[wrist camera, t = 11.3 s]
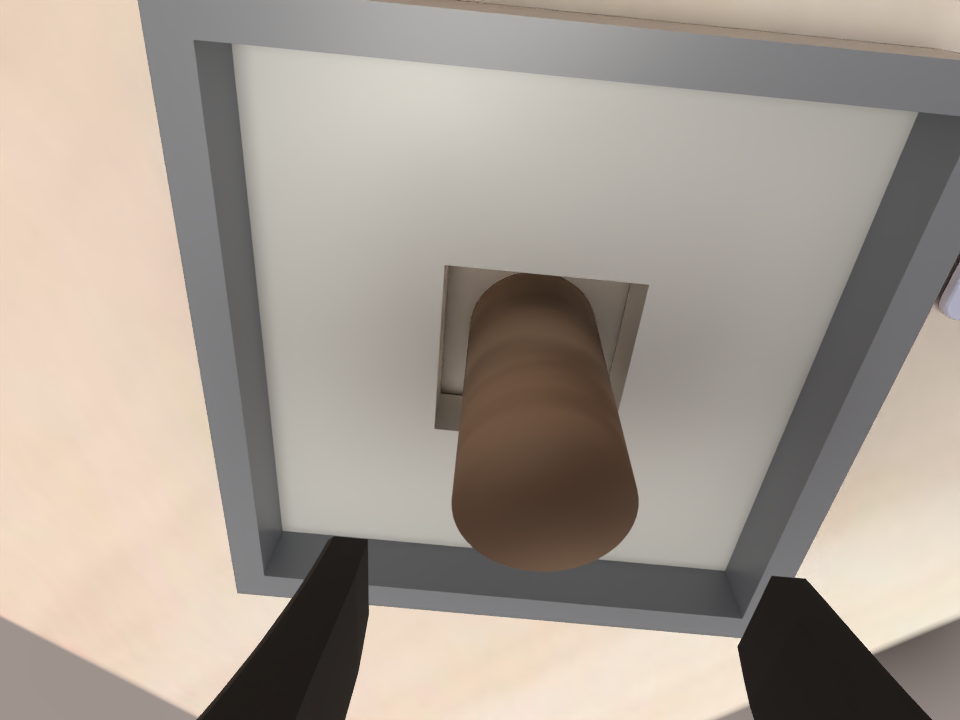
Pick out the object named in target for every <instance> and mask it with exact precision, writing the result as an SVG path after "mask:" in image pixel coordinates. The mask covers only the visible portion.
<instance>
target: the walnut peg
mask: <svg viewBox="0 0 960 720" xmlns="http://www.w3.org/2000/svg"><path fill="white" fill-rule="evenodd" d="M451 504H452V514H453V519H454V521H455V524H456V526H457V528H458V530H459V532H460V534H461V535H462V536H463V538H464V539H465V540H466V541H467V542H468V543H469V544H470V545H471V546H472V547H473V548H474V549H475V550H477V551H478V552H479V553H481V554H482V555H484V556H485V557H487V558H489V559H491V560H493V561H495V562H497V563H500V564H502V565H505V566H508V567H512V568H516V569H520V570H527V571H540V572H548V571H560V570H567V569H571V568H576V567H579V566H582V565H585V564H588V563H590V562H593V561H595V560H597V559H599V558H601V557H602V556H604V555H606V554H607V553H609V552H610V551H611V550H613V549H614V548H615V547H617V546H618V545H619V544H620V543H621V542H622V541H623V540H624V538H625V537H626V536H627V535H628V533H629V532H630V530H631V528H632V526H633V525H634V522H635V520H636V517H637V513H638V507H639V497H638V491H637V486H636V482H635V478H634V474H633V470H632V466H631V462H630V458H629V454H628V450H627V446H626V442H625V438H624V434H623V430H622V426H621V422H620V418H619V414H618V410H617V406H616V402H615V398H614V394H613V390H612V386H611V382H610V378H609V374H608V370H607V366H606V362H605V358H604V354H603V350H602V346H601V342H600V338H599V334H598V330H597V326H596V322H595V318H594V314H593V311H592V308H591V306H590V304H589V302H588V300H587V298H586V297H585V296H584V294H583V293H582V292H581V291H580V290H579V289H578V288H577V287H576V286H574V285H573V284H572V283H570V282H568V281H567V280H565V279H563V278H560V277H558V276H553V275H542V274H532V273H520V274H516V275H513V276H510V277H507V278H505V279H503V280H501V281H499V282H497V283H496V284H494V285H493V286H491V287H490V288H489V289H488V290H487V291H486V292H485V293H484V294H483V295H482V296H481V298H480V299H479V301H478V302H477V304H476V306H475V308H474V310H473V313H472V317H471V323H470V331H469V341H468V350H467V359H466V369H465V378H464V387H463V397H462V406H461V415H460V425H459V434H458V444H457V453H456V462H455V472H454V481H453V490H452V500H451Z"/></svg>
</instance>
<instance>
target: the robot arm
mask: <svg viewBox="0 0 960 720" xmlns="http://www.w3.org/2000/svg"><path fill="white" fill-rule="evenodd" d="M939 308H940V310H941V311H942V312H943V313H944V314H945V315H946V316H948V317H949V318H951V319H955V320H960V262H959V264H958V266H957V268H956V270H955V272H954V273H953V275H952V277H951V279H950V281H949V283H948V285H947V287H946V289H945V291H944V293H943V295H942V297H941V299H940V302H939ZM368 616H369V586H368V539H359V538H348V537H337V536H333V537H332V538H330V539H329V540H328V541H327V542H326V544H325V546H324V548H323V550H322V551H321V553H320V555H319V557H318V558H317V560H316V562H315V563H314V565H313V567H312V568H311V570H310V571H309V573H308V575H307V576H306V578H305V579H304V581H303V582H302V584H301V585H300V587H299V588H298V590H297V591H296V593H295V594H294V596H293V597H292V599H291V600H290V602H289V603H288V605H287V606H286V607H285V609H284V610H283V612H282V613H281V614H280V616H279V617H278V618H277V620H276V621H275V623H274V624H273V625H272V627H271V628H270V630H269V631H268V632H267V634H266V635H265V636H264V638H263V639H262V641H261V642H260V643H259V644H258V646H257V647H256V648H255V650H254V651H253V652H252V654H251V655H250V656H249V657H248V658H247V660H246V661H245V662H244V663H243V665H242V666H241V667H240V668H239V670H238V671H237V672H236V673H235V675H234V676H233V677H232V678H231V680H230V681H229V682H228V683H227V685H226V686H225V687H224V688H223V690H222V691H221V692H220V693H219V694H218V696H217V697H216V698H215V699H214V700H213V701H212V703H211V704H210V705H209V706H208V707H207V708H206V710H205V711H204V712H203V713H202V714H201V715H200V716H199V718H198V719H197V720H345V718H346V714H347V711H348V707H349V704H350V700H351V696H352V693H353V689H354V686H355V682H356V679H357V675H358V671H359V666H360V660H361V655H362V649H363V644H364V638H365V633H366V627H367V621H368ZM738 652H739V657H740V662H741V667H742V672H743V677H744V682H745V686H746V691H747V695H748V700H749V704H750V708H751V711H752V714H753V717H754V720H932V719H931V718H930V717H929V716H928V715H927V714H926V713H925V712H924V711H923V710H922V709H921V707H920V706H919V705H918V704H917V703H916V702H915V701H914V700H913V699H912V698H911V697H910V696H909V695H908V693H907V692H906V691H905V690H904V689H903V688H902V687H901V686H900V685H899V684H898V683H897V681H896V680H895V679H894V678H893V677H892V676H891V675H890V674H889V673H888V672H887V670H886V669H885V668H884V667H883V666H882V665H881V664H880V663H879V661H878V660H877V659H876V658H875V657H874V656H873V655H872V654H871V652H870V651H869V650H868V649H867V648H866V647H865V646H864V644H863V643H862V642H861V641H860V640H859V639H858V638H857V636H856V635H855V634H854V633H853V632H852V631H851V630H850V628H849V627H848V626H847V625H846V624H845V623H844V622H843V620H842V619H841V618H840V617H839V616H838V615H837V614H836V612H835V611H834V610H833V609H832V608H831V607H830V606H829V604H828V603H827V602H826V601H825V600H824V599H823V598H822V596H821V595H820V594H819V593H818V592H817V591H816V590H815V589H814V588H813V586H812V585H811V584H810V583H809V582H808V581H807V580H806V579H802V578H791V577H780V576H771V578H770V580H769V582H768V584H767V586H766V588H765V590H764V593H763V595H762V597H761V599H760V601H759V603H758V605H757V607H756V609H755V611H754V613H753V616H752V618H751V620H750V622H749V624H748V626H747V628H746V630H745V632H744V634H743V637H742V639H741V641H740V643H739V645H738Z"/></svg>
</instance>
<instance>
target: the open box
mask: <svg viewBox="0 0 960 720" xmlns="http://www.w3.org/2000/svg"><path fill="white" fill-rule="evenodd" d="M138 5H139V11H140V17H141V23H142V29H143V35H144V41H145V47H146V53H147V59H148V65H149V71H150V77H151V83H152V89H153V95H154V101H155V106H156V112H157V118H158V124H159V130H160V136H161V142H162V148H163V154H164V160H165V166H166V172H167V178H168V184H169V190H170V196H171V202H172V207H173V213H174V219H175V225H176V231H177V237H178V243H179V249H180V255H181V261H182V267H183V273H184V279H185V285H186V291H187V297H188V303H189V309H190V314H191V320H192V326H193V332H194V338H195V344H196V350H197V356H198V362H199V368H200V374H201V380H202V386H203V392H204V398H205V404H206V410H207V416H208V421H209V427H210V433H211V439H212V445H213V451H214V457H215V463H216V469H217V475H218V481H219V487H220V493H221V499H222V505H223V511H224V517H225V523H226V528H227V534H228V540H229V546H230V552H231V558H232V564H233V570H234V576H235V582H236V588H237V593H241V594H252V595H264V596H275V597H286V598H292V597H293V596H294V594H295V593H296V591H297V590H298V588H299V587H300V585H301V584H302V582H303V581H304V579H305V578H306V576H307V575H308V573H309V571H310V570H311V568H312V567H313V565H314V563H315V562H316V560H317V558H318V557H319V555H320V553H321V551H322V550H323V548H324V546H325V544H326V542H327V541H328V540H329V539H330V538H332V537H333V536H337V537H348V538H359V539H368V586H369V605H376V606H387V607H398V608H409V609H421V610H432V611H443V612H454V613H465V614H477V615H488V616H499V617H510V618H521V619H533V620H544V621H555V622H566V623H577V624H589V625H600V626H611V627H622V628H634V629H645V630H656V631H667V632H678V633H690V634H701V635H712V636H723V637H734V638H742V637H743V634H744V632H745V630H746V628H747V626H748V624H749V622H750V620H751V618H752V616H753V613H754V611H755V609H756V607H757V605H758V603H759V601H760V599H761V597H762V595H763V593H764V590H765V588H766V586H767V584H768V582H769V580H770V578H771V576H780V577H791V578H794V577H795V575H796V573H797V571H798V570H799V568H800V566H801V564H802V562H803V560H804V558H805V556H806V554H807V552H808V550H809V548H810V546H811V544H812V542H813V540H814V538H815V536H816V534H817V532H818V530H819V528H820V526H821V524H822V522H823V520H824V518H825V516H826V514H827V513H828V511H829V509H830V507H831V505H832V503H833V501H834V499H835V497H836V495H837V493H838V491H839V489H840V487H841V485H842V483H843V481H844V479H845V477H846V475H847V473H848V471H849V469H850V467H851V465H852V463H853V461H854V459H855V458H856V456H857V454H858V452H859V450H860V448H861V446H862V444H863V442H864V440H865V438H866V436H867V434H868V432H869V430H870V428H871V426H872V424H873V422H874V420H875V418H876V416H877V414H878V412H879V410H880V408H881V406H882V404H883V403H884V401H885V399H886V397H887V395H888V393H889V391H890V389H891V387H892V385H893V383H894V381H895V379H896V377H897V375H898V373H899V371H900V369H901V367H902V365H903V363H904V361H905V359H906V357H907V355H908V353H909V351H910V349H911V347H912V346H913V344H914V342H915V340H916V338H917V336H918V334H919V332H920V330H921V328H922V326H923V324H924V322H925V320H926V318H927V316H928V314H929V312H930V310H931V308H932V306H933V304H934V302H935V300H936V298H937V296H938V294H939V292H940V291H941V289H942V287H943V285H944V283H945V281H946V279H947V277H948V275H949V273H950V271H951V269H952V267H953V265H954V263H955V261H956V259H957V257H958V255H959V253H960V53H957V52H952V51H946V50H941V49H934V48H924V47H914V46H904V45H894V44H884V43H875V42H865V41H855V40H845V39H835V38H825V37H815V36H805V35H795V34H786V33H776V32H766V31H756V30H746V29H736V28H726V27H716V26H706V25H696V24H687V23H677V22H667V21H657V20H647V19H637V18H627V17H617V16H607V15H598V14H588V13H578V12H568V11H558V10H548V9H538V8H528V7H518V6H509V5H499V4H489V3H479V2H469V1H459V0H138ZM448 266H459V267H469V268H480V269H490V270H501V271H511V272H521V273H532V274H542V275H553V276H563V277H574V278H584V279H594V280H605V281H615V282H626V283H631V284H630V289H629V293H628V297H627V302H626V306H625V310H624V315H623V319H622V324H621V328H620V332H619V337H618V341H617V345H616V350H615V354H614V358H613V363H612V367H611V372H610V376H609V378H610V382H611V386H612V390H613V394H614V398H615V402H616V406H617V410H618V414H619V418H620V422H621V426H622V430H623V434H624V438H625V442H626V446H627V450H628V454H629V458H630V462H631V466H632V470H633V474H634V478H635V482H636V486H637V491H638V497H639V507H638V513H637V517H636V520H635V522H634V525H633V526H632V528H631V530H630V532H629V533H628V535H627V536H626V537H625V538H624V540H623V541H622V542H621V543H620V544H619V545H618V546H617V547H615V548H614V549H613V550H611V551H610V552H609V553H607V554H606V555H604V556H602V557H601V558H599V559H597V560H595V561H593V562H590V563H588V564H585V565H582V566H579V567H576V568H571V569H567V570H560V571H548V572H540V571H527V570H520V569H516V568H512V567H508V566H505V565H502V564H500V563H497V562H495V561H493V560H491V559H489V558H487V557H485V556H484V555H482V554H481V553H479V552H478V551H477V550H475V549H474V548H473V547H472V546H471V545H470V544H469V543H468V542H467V541H466V540H465V539H464V538H463V536H462V535H461V534H460V532H459V530H458V528H457V526H456V524H455V521H454V519H453V514H452V504H451V500H452V490H453V481H454V472H455V462H456V453H457V444H458V434H459V425H460V415H461V406H462V397H463V396H462V395H451V394H441V393H440V387H441V372H442V357H443V342H444V326H445V311H446V296H447V281H448Z"/></svg>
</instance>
